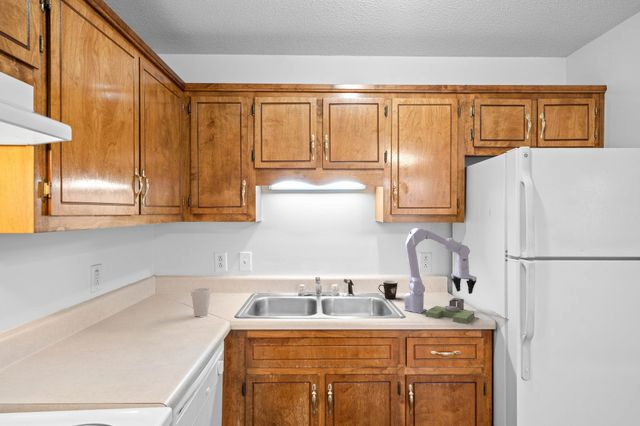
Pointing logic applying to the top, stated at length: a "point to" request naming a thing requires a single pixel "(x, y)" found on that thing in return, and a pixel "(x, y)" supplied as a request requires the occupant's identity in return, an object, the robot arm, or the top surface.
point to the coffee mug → (389, 289)
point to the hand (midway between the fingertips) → (464, 292)
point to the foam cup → (200, 301)
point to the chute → (459, 303)
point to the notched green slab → (451, 313)
